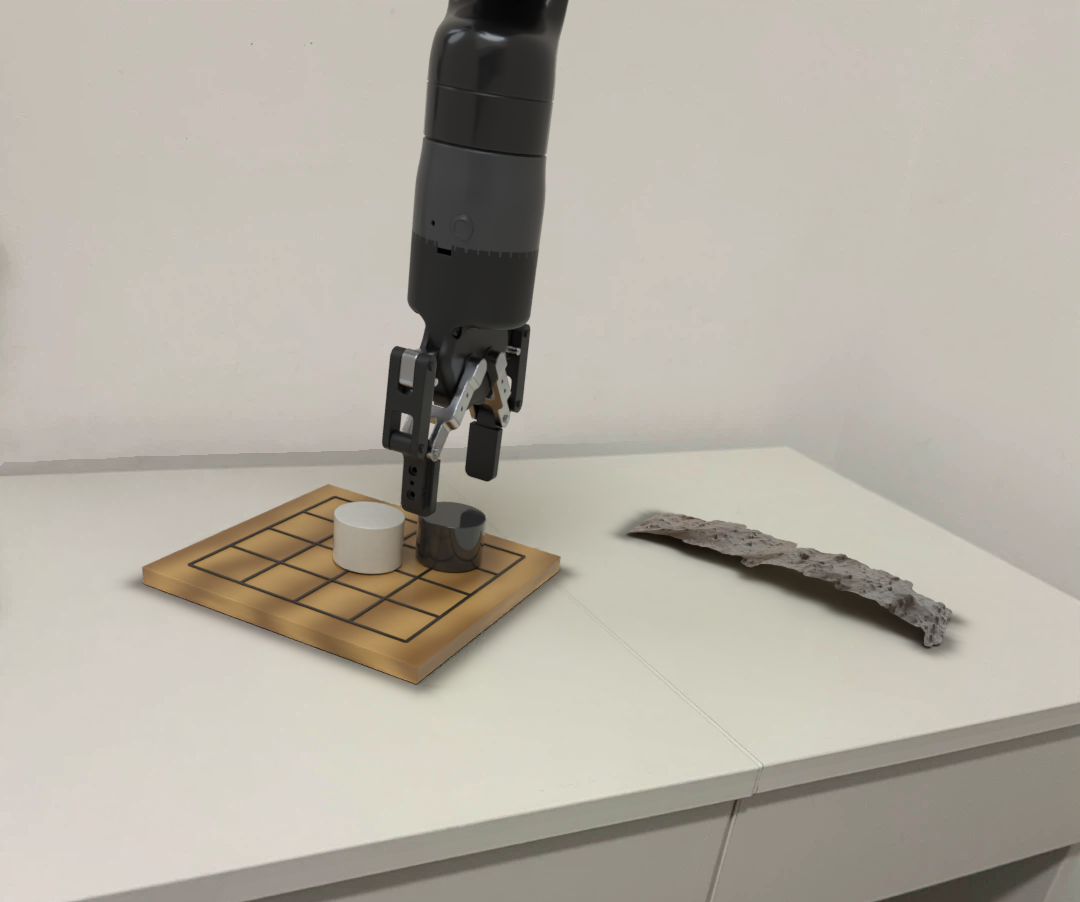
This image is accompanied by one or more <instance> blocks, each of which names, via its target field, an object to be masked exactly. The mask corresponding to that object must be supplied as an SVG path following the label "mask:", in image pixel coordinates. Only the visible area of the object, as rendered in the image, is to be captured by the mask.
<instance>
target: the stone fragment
mask: <svg viewBox="0 0 1080 902" xmlns="http://www.w3.org/2000/svg"><path fill="white" fill-rule="evenodd" d="M630 533H647V534H654V535H662V536H670V537H671V538H675V539H679V540H682V541H681V542H683V543H685V544H689V545H692V546H698V547H701V548H703V547H705V548H709V549H711V550H714V551H717V552H718V553H720V554H725V555H730V556H737V557H738V556H739V557H741V558H742V559H741V561H740V563H741V564H742V565H744V566H746V567H747V568H748V567H749V568H753V567H756V566H760V565H773V566H780V567H784V568H787V569H791V570H795V571H797V572H798V573H802V575H803V576H804V577H808V578H815V579H819V580H822V581H827V582H830V583H835V584H834V588H835V589H836V590H838V591H841V592H843V591H845V592H846V591H847V592H851V593H854V594H856V595H857V594H858V595H859V596H861V597H863V598H866V599H869V600H873V601H876V603H878V605H879V606H880V607H883V608H885V609H887V610H888V612H889V613H890V614H892V615H895V616H897V618H899V619H901V620H904V621H905V622H907V623H908V624H910V625H912V626H914V627H917V628H921V629H922V631H923V632H924V636H923V645H924V646H925V647H926V648H927V647H929V648H932V647H934V646H938V645H940V644H942V642H943V641H944V640H943V639H944V635H945V631H946V628H947V623H948V618H949V619H951V618H952V617H951V616H953V615H954V614H953V610H952V609H950V608H948V607H947V606H946V604H945V603H944V602H942V601H935V600H934V599H932V598H930V597H927V596H925V595H923V594H921V593H918V592H917V591H915V590H914V589H913V587H914V583H913V582H912V581H910V580H908V579H902V578H900V577H899V576H896V575H894V574H891V573H889V572H888V571H885V570H883V569H876V568H870V566H869V565H867V564H866V563H862V562H861V561H859V560H857V559H855V558H852V557H848V556H847V554H845V553H827V552H821V551H820V550H817V549H816V548H813V547H798V544H799V543H796V542H794V541H791V540H785V539H781V538H777V537H774V536H773V535H771V534H767V533H763V532H761V531H760V530H758V529H751V528H748V526H747V525H746V524H744V523H738V522H733V521H726V520H725V521H724V520H720V519H713V520H711V521H710V520H709V521H707V520H704V519H702V518H699V517H694V516H691V515H686V514H681V513H673V512H664V513H655V514H654V515H652V516H650V517H649V518H646V519H644V520H642V522H641V523H640V524H639V525H638V526H634V527H633V528H632V529H630V530H629V531H627V532H626V534H630Z"/></svg>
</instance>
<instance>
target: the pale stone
mask: <svg viewBox="0 0 1080 902" xmlns="http://www.w3.org/2000/svg"><path fill="white" fill-rule="evenodd" d="M404 527H405V516H404V514H403V513H402V512H401V511H400V510H398V509H396V508H394V507H392V506H389V505H386V504H382V503H376V502H351V503H346V504H343V505H341V506H339V507H337V508H336V509H335V511H334V532H333V560H334V561H335V563H336V564H337V565H339V566H340V567H342V568H344V569H347V570H349V571H353V572H358V573H365V574H380V573H387V572H391V571H393V570H395V569H397V568H399V567H400V566H401V564H402V557H403V542H404Z"/></svg>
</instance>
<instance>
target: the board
mask: <svg viewBox="0 0 1080 902" xmlns="http://www.w3.org/2000/svg"><path fill="white" fill-rule="evenodd" d="M351 502H376V503H382V504H386V505H389V506H392V507H394V508H396V509H398V510H400V511H401V512H402V513H403V514H404V516H405V527H404V542H403V557H402V564H401V566H400V567H399V568H397V569H395V570H393V571H391V572H387V573H380V574H365V573H358V572H353V571H349V570H347V569H344V568H342V567H340V566H339V565H337V564H336V563H335V561H334V560H333V532H334V511H335V509H336V508H337V507H339V506H341V505H343V504H346V503H351ZM417 519H418V515H416V514H413V513H410V512H407V511H405V510H404V509H403V508H402V506H401V505H397V504H394V503H390V502H387V501H384V500H381V499H378V498H375V497H371V496H368V495H365V494H362V493H359V492H355V491H353V490H349V489H346V488H342V487H339V486H337V485H333V484H329V483H327V484H325V485H323V486H321V487H318V488H316V489H314V490H311V491H310V492H307V493H305V494H303V495H300V496H298V497H296V498H293V499H291V500H289V501H287V502H284V503H282V504H280V505H278V506H276V507H273V508H270V509H268V510H267V511H264V512H261V513H260V514H258V515H255V516H253V517H251V518H248V519H247V520H244V521H241V522H240V523H237V524H235V525H233V526H231V527H228V528H226V529H223V530H222V531H219V532H217V533H215V534H213V535H211V536H208V537H206V538H203V539H201V540H199V541H197V542H194V543H192V544H191V545H188V546H186V547H183V548H181V549H179V550H176V551H174V552H173V553H170V554H168V555H165V556H163V557H161V558H159V559H157V560H155V561H152V562H150V563H147V564H145V565H142V566H141V570H142V583H143V584H144V585H146V586H149V587H151V588H154V589H157V590H160V591H162V592H165V593H168V594H170V595H173V596H175V597H179V598H181V599H184V600H186V601H190V602H192V603H195V604H198V605H200V606H203V607H206V608H208V609H211V610H214V611H216V612H219V613H222V614H224V615H227V616H230V617H232V618H235V619H239V620H241V621H244V622H246V623H249V624H252V625H255V626H257V627H260V628H263V629H266V630H268V631H271V632H272V633H276V634H279V635H282V636H285V637H287V638H290V639H292V640H295V641H298V642H300V643H303V644H307V645H309V646H311V647H315V648H316V649H320V650H322V651H324V652H328V653H331V654H333V655H336V656H339V657H342V658H344V659H347V660H349V661H352V662H355V663H358V664H359V665H360V664H361V665H363V666H366V667H369V668H371V669H374V670H376V671H380V672H382V673H385V674H388V675H391V676H393V677H395V678H399V679H401V680H403V681H405V682H409V683H412V684H415V685H417V684H419V683H420V682H421V681H422V680H423V679H425V678H426V677H428V675H430V674H431V673H432V672H434V670H436V669H437V668H438V667H440V666H441V665H442V664H444V663H445V662H446V661H448V659H450V658H451V657H453V656H454V655H455V654H456V653H458V651H460V650H462V649H463V648H464V647H465V646H466V645H468V644H469V643H470V642H471V641H473V640H474V639H475V638H476V637H478V636H479V635H480V634H481V633H483V632H484V631H485V630H487V629H488V628H489V627H490V626H491V625H493V624H494V623H495V622H496V621H498V620H499V619H501V618H502V617H503V616H504V615H506V613H508V612H509V611H511V610H512V609H513V608H514V607H515V606H516V605H518V604H519V603H520V602H522V601H523V600H524V599H525V598H527V597H528V596H529V595H531V594H532V593H533V592H534V591H536V590H537V589H538V588H539V587H541V586H542V585H543V584H544V583H546V582H547V581H548V580H549V579H551V578H552V577H553V576H555V575H556V574H557V573H558V572H559V571H560V565H561V560H562V559H561V558H562V557H561V555H558V554H554V553H551V552H547V551H544V550H541V549H538V548H534V547H532V546H529V545H525V544H522V543H519V542H516V541H512V540H509V539H506V538H502V537H499V536H496V535H493V534H490V533H487V532H485V536H484V545H483V554H482V562H481V564H480V565H479V566H478V567H477V568H475V569H473V570H469V571H463V572H447V571H440V570H436V569H432V568H430V567H427V566H425V565H423V564H421V563H420V562H419V561H418V560H417V559H416V557H415V547H416V533H417Z"/></svg>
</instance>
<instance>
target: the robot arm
mask: <svg viewBox="0 0 1080 902" xmlns="http://www.w3.org/2000/svg"><path fill="white" fill-rule="evenodd" d="M569 1H570V0H448V2H447V3H448V4H447V9H446V13H445V15H444V18H443V20H442V21H441V22H440V24H439V25H438V27H437V28H436V31H435V33H434V36H433V39H432V43H431V48H430V52H429V59H428V68H427V77H426V79H427V82H426V90H425V91H426V92H425V103H424V104H425V105H424V118H423V129H422V131H423V132H422V133H423V137H422V143H421V150H420V155H419V161H418V166H417V171H416V176H415V183H414V184H415V185H414V196H413V211H412V222H411V224H412V225H411V238H410V253H409V268H408V279H407V280H408V281H407V282H408V283H407V294H406V295H407V297H406V301H407V304H408V307H409V308H410V310H412V311H413V312H414V313H415V314H418V315H419V316H420V317H421V319H422V320H423V322H424V331H423V335H422V339H421V342H420V345H419V348H416V349H412V348H410V347H409V348H406V347H403V346H400V345H395V346H394V347H393V348H392V349H391V351H390V354H389V361H388V362H389V363H388V364H389V365H388V373H387V384H386V392H385V393H386V394H385V395H386V396H385V406H384V414H383V416H384V417H383V425H382V437H381V446H382V448H384V449H386V450H389V451H393V452H397V453H400V454H402V457H403V463H402V464H403V466H402V476H401V490H400V491H401V492H400V507H402V508H403V509H404V510H405V511H407V512H410V513H413V514H416V515H419V516H422V517H428V516H430V515H431V514H433V513H434V512H435V511H436V504H437V502H438V495H439V493H438V491H439V483H440V472H441V458H440V457H441V454H442V451H443V449H444V446H445V444H446V442H447V439H448V437H449V435H450V433H451V432H452V431H455V430H457V429H459V428H460V426H461V424H462V422H463V419H464V416H465V415H466V412H467V411H469V415H470V417H471V419H472V420H473V421H470V422H469V425H468V436H467V446H466V455H465V465H464V471H465V474H466V475H467V476H468V477H470V478H473V479H475V480H479V481H483V482H486V483H488V482H490V481H491V482H492V481H493V480H495V479H496V478H497V476H498V473H499V463H500V455H501V448H502V438H503V432H504V429H505V428H507V426H508V425H509V423H510V420H511V412H512V413H514V414H518V413H520V411H521V410H522V407H523V403H524V393H525V385H526V374H527V367H528V356H529V347H530V339H531V338H530V337H531V325H530V324H528V322H529V321H530V318H531V314H532V307H533V299H534V291H535V283H536V275H537V269H538V259H539V253H540V244H541V238H542V237H541V236H542V229H543V221H544V215H545V206H546V192H547V191H546V189H547V186H546V185H547V183H546V182H547V181H546V179H547V178H546V174H547V173H546V172H547V160H548V159H547V154H548V147H549V140H550V131H551V125H552V116H553V108H554V100H555V92H556V79H557V78H556V77H557V63H558V53H559V45H560V39H561V35H562V31H563V27H564V24H565V19H566V16H567V12H568V11H567V10H568V6H569ZM509 378H510V381H511V382H509ZM402 414H405V415H407V416H406V419H405V421H404V424H403V426H402V427H401V425H402V416H403V415H402ZM431 424H433V425H434V427H433V428H432V432H431V434H430V429H431V428H430V425H431ZM503 428H504V429H503ZM429 434H430V437H429ZM439 458H440V459H439Z"/></svg>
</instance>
